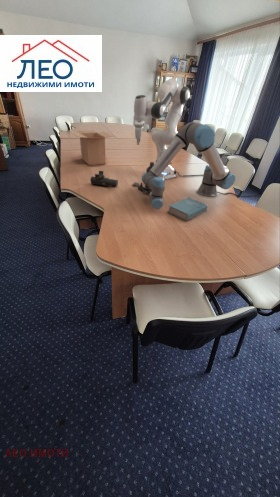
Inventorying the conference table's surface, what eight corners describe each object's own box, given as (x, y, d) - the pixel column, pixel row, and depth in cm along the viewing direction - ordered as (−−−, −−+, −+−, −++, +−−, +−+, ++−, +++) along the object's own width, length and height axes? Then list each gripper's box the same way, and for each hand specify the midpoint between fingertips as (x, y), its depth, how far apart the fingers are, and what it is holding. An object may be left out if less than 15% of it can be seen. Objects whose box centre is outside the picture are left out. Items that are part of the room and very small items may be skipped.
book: (187, 203, 164) (188, 197, 161) (206, 211, 155) (207, 205, 152) (167, 212, 150) (168, 205, 147) (187, 221, 142) (188, 214, 139)
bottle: (147, 190, 180) (149, 160, 166) (155, 192, 178) (159, 162, 164) (143, 193, 175) (145, 162, 161) (151, 195, 172) (154, 164, 158)
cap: (134, 186, 185) (134, 184, 184) (133, 184, 188) (133, 182, 187) (139, 186, 186) (139, 184, 185) (138, 184, 189) (138, 182, 188)
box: (116, 165, 229) (116, 136, 213) (83, 168, 214) (80, 137, 198) (102, 154, 259) (101, 128, 243) (71, 156, 244) (68, 129, 228)
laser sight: (115, 189, 177) (115, 177, 171) (88, 185, 180) (87, 173, 174) (118, 185, 185) (118, 173, 179) (93, 181, 188) (92, 169, 182)
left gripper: (136, 120, 168) (135, 140, 176) (134, 124, 151) (133, 145, 159) (144, 120, 168) (143, 140, 176) (143, 124, 151) (141, 146, 159)
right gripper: (136, 200, 156) (133, 188, 173) (170, 200, 159) (164, 189, 176) (136, 190, 152) (134, 179, 169) (172, 190, 155) (165, 180, 172)
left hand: (138, 143), depth 167 cm, fingers open, 8 cm apart
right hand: (149, 184), depth 173 cm, fingers open, 13 cm apart
